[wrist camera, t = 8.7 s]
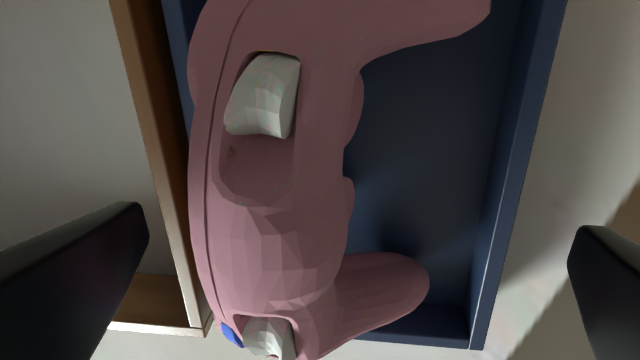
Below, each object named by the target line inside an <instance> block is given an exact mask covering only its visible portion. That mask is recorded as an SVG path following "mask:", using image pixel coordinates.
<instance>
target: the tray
mask: <svg viewBox="0 0 640 360" xmlns="http://www.w3.org/2000/svg"><path fill="white" fill-rule="evenodd" d="M207 1H208V0H161V3H162V8H163V13H164V18H165V23H166V28H167V33H168V39H169V44H170V49H171V54H172V59H173V64H174V69H175V75H176V80H177V85H178V90H179V95H180V100H181V105H182V111H183V116H184V121H185V126H186V131H187V136H188V141H189V147H190V133H191V126H192V120H193V115H194V109H195V106H194V103H193V100H192V98H191V95H190V90H189V84H188V78H187V60H188V52H189V44H190V41H191V38H192V35H193V32H194V29H195V26H196V24H197V21H198V18H199V15H200V13H201V11H202V9H203V7H204V6H205V4H206V2H207ZM567 1H568V0H491V9H490V13H489V14H488V15H487V17H486V18H485V19H484V20H483V21H482V22H480V23H479V24H478V25H477V26H475V27H473V28H472V29H470V30H468V31H466V32H464V33H463V34H461V35H459V36H457V37H452V38H448V39H443V40H438V41H434V42H429V43H424V44H419V45H415V46H410V47H405V48H402V49H400V50H397V51H394V52H391V53H389V54H386V55H383V56H380V57H378V58H375V59H373V60H372V61H370V62H369V63H367V64H366V65H364V66H363V67H362V68H361V70H360V71H359V73H360V74H361V77H362V80H363V84H364V101H363V107H362V112H361V117H360V119H359V122H358V125H357V128H356V131H355V133H354V135H353V137H352V138H351V140H350V141H349V143H348V144H347V145H346V146H345V147H344V151H343V167H342V173H343V176H345V177H348V178H350V179H351V180H352V182H353V185H354V189H355V201H354V207H353V211H352V215H351V218H350V220H349V223H348V235H347V244H346V248H345V251H344V255H348V254H354V253H360V252H394V253H398V254H401V255H404V256H407V257H410V258H413V259H414V260H415V261H417V262H418V263H419V264H421V265H422V266H423V267H424V269H425V270H426V271H427V272H428V275H429V290H428V292H427V295H426V296H425V298H424V300H423V301H422V302H421V303H420V304H419V305H418V306H417V307H416V309H415V310H414V311H412V312H410V313H408V314H406V315H405V316H403V317H401V318H399V319H397V320H395V321H393V322H391V323H389V324H386V325H383V326H381V327H378V328H376V329H373V330H371V331H368V332H366V333H363V334H361V335H359V336H357V337H355V338H353V339H355V340H367V341H378V342H389V343H401V344H412V345H424V346H435V347H446V348H458V349H467V348H468V349H470V350H480V351H482V350H483V348H484V344H485V340H486V336H487V331H488V327H489V323H490V319H491V315H492V311H493V307H494V303H495V298H496V294H497V290H498V286H499V282H500V278H501V274H502V270H503V265H504V261H505V257H506V253H507V249H508V245H509V241H510V237H511V232H512V228H513V224H514V220H515V216H516V212H517V208H518V203H519V199H520V195H521V191H522V187H523V183H524V179H525V175H526V170H527V166H528V162H529V158H530V154H531V150H532V146H533V142H534V137H535V133H536V129H537V125H538V121H539V117H540V113H541V109H542V104H543V100H544V96H545V92H546V88H547V84H548V80H549V76H550V71H551V67H552V63H553V59H554V55H555V51H556V47H557V42H558V38H559V34H560V30H561V26H562V22H563V18H564V14H565V9H566V5H567Z"/></svg>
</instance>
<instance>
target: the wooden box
mask: <svg viewBox="0 0 640 360" xmlns="http://www.w3.org/2000/svg"><path fill="white" fill-rule="evenodd" d="M109 4H110V8H111V12H112V16H113V20H114V24H115V28H116V32H117V36H118V40H119V44H120V48H121V52H122V56H123V60H124V64H125V68H126V72H127V76H128V80H129V84H130V88H131V92H132V96H133V100H134V104H135V108H136V112H137V116H138V120H139V124H140V128H141V132H142V136H143V139H144V143H145V147H146V151H147V155H148V159H149V163H150V167H151V171H152V175H153V179H154V183H155V187H156V191H157V195H158V199H159V203H160V207H161V211H162V215H163V219H164V223H165V227H166V231H167V235H168V239H169V243H170V247H171V251H172V255H173V259H174V263H175V267H176V271H177V275H178V276H170V275H156V274H142V273H135V275H134V277H133V279H132V282H131V284H130V286H129V289H128V291H127V293H126V295H125V297H124V299H123V301H122V303H121V305H120V307H119V309H118V311H117V313H116V314H115V316H114V318H113V320H112V321H111V323H110V325H109V327H108V328H107V329H113V330H124V331H135V332H146V333H157V334H168V335H179V336H190V337H201V338H205V337H206V336H207V334H208V331H209V329H210V327H211V325H212V322H213V320H214V313H213V311H212V309H211V308H210V305H209V303H208V300H207V298H206V295H205V292H204V290H203V287H202V284H201V281H200V279H199V276H198V272H197V267H196V262H195V257H194V252H193V247H192V242H191V234H190V223H189V213H188V161H189V141H188V136H187V131H186V126H185V121H184V116H183V111H182V105H181V100H180V95H179V90H178V85H177V80H176V75H175V69H174V64H173V59H172V54H171V49H170V44H169V39H168V33H167V28H166V23H165V18H164V13H163V8H162V3H161V0H109Z"/></svg>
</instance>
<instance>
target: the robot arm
mask: <svg viewBox="0 0 640 360" xmlns="http://www.w3.org/2000/svg"><path fill="white" fill-rule="evenodd" d="M148 242H149V230H148V227H147V223H146V219H145V216H144V212H143V209H142V206H141V205H140V204H139V203H137V202H125V201H121V202H117V203H115V204H112V205H110V206H108V207H105V208H103V209H100V210H98V211H96V212H93V213H91V214H89V215H86V216H84V217H81V218H79V219H77V220H74V221H72V222H69V223H67V224H65V225H62V226H60V227H58V228H55V229H53V230H50V231H48V232H46V233H43V234H41V235H39V236H36V237H34V238H31V239H29V240H27V241H24V242H22V243H19V244H17V245H15V246H12V247H10V248H8V249H5V250H3V251H0V360H90V358H91V356H92V355H93V353H94V351H95V349H96V348H97V346H98V344H99V342H100V341H101V339H102V337H103V335H104V334H105V332H106V330H107V328H108V327H109V325H110V323H111V321H112V320H113V318H114V316H115V314H116V313H117V311H118V309H119V307H120V305H121V303H122V301H123V299H124V297H125V295H126V293H127V291H128V289H129V286H130V284H131V282H132V279H133V277H134V275H135V273H136V270H137V268H138V266H139V264H140V261H141V259H142V257H143V254H144V252H145V250H146V248H147V245H148ZM567 270H568V274H569V277H570V281H571V284H572V287H573V291H574V294H575V297H576V301H577V304H578V308H579V311H580V314H581V317H582V321H583V324H584V328H585V331H586V334H587V337H588V340H589V343H590V345H591V347H592V350H593V353H594V355H595V357H596V360H640V245H639V244H637V243H635V242H633V241H631V240H629V239H627V238H626V237H624V236H622V235H620V234H618V233H616V232H615V231H613V230H611V229H609V228H607V227H604V226H593V225H583V226H581V227H579V228H578V230H577V232H576V235H575V238H574V241H573V243H572V246H571V249H570V252H569V255H568V259H567Z"/></svg>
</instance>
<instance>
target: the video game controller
mask: <svg viewBox="0 0 640 360" xmlns="http://www.w3.org/2000/svg"><path fill="white" fill-rule="evenodd" d="M490 9H491V0H208V1H207V2H206V4H205V6H204V7H203V9H202V11H201V13H200V15H199V18H198V21H197V24H196V26H195V29H194V32H193V35H192V38H191V41H190V44H189V52H188V60H187V78H188V84H189V90H190V95H191V98H192V100H193V103H194V106H195V109H194V115H193V120H192V126H191V133H190V147H189V161H188V213H189V223H190V234H191V242H192V247H193V252H194V257H195V262H196V267H197V272H198V276H199V279H200V281H201V284H202V287H203V290H204V292H205V295H206V298H207V300H208V303H209V305H210V308H211V309H212V311H213V313H214V320H215V323H216V326H217V328H218V329H219V330H220V332H222V333H223V334H224V335H225V337H226V338H227V339H229V340H230V341H232V342H233V343H235V344H236V345H238V346H239V347H241V348H245V347H246V348H247V349H248V350H249V351H250V352H252V353H253V354H255V355H257V356H262V357H264V356H266V357H272V358H278V359H280V360H317V359H320V358H322V357H324V356H325V355H327V354H329V353H330V352H332V351H333V350H335V349H336V348H338V347H340V346H341V345H343V344H344V343H346V342H348V341H349V340H351V339H353V338H355V337H357V336H359V335H361V334H363V333H366V332H368V331H371V330H373V329H376V328H378V327H381V326H383V325H386V324H389V323H391V322H393V321H395V320H397V319H399V318H401V317H403V316H405V315H406V314H408V313H410V312H412V311H414V310H415V309H416V307H417V306H418V305H419V304H420V303H421V302H422V301H423V300H424V298H425V296H426V295H427V292H428V290H429V275H428V272H427V271H426V270H425V269H424V267H423V266H422V265H421V264H419V263H418V262H417V261H415V260H414V259H413V258H410V257H407V256H404V255H401V254H398V253H394V252H360V253H354V254H348V255H344V251H345V248H346V244H347V235H348V223H349V220H350V218H351V215H352V211H353V207H354V201H355V189H354V185H353V182H352V180H351V179H350V178H348V177H345V176H343V173H342V167H343V151H344V147H345V146H346V145H347V144H348V143H349V141H350V140H351V138H352V137H353V135H354V133H355V131H356V128H357V125H358V122H359V119H360V117H361V112H362V107H363V101H364V84H363V80H362V77H361V74H360V73H359V71H360V70H361V68H362V67H363V66H364V65H366V64H367V63H369V62H370V61H372V60H373V59H375V58H378V57H380V56H383V55H386V54H389V53H391V52H394V51H397V50H400V49H402V48H405V47H410V46H415V45H419V44H424V43H429V42H434V41H438V40H443V39H448V38H452V37H457V36H459V35H461V34H463V33H464V32H466V31H468V30H470V29H472V28H473V27H475V26H477V25H478V24H479V23H480V22H482V21H483V20H484V19H485V18H486V17H487V15H488V14H489V13H490Z"/></svg>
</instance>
